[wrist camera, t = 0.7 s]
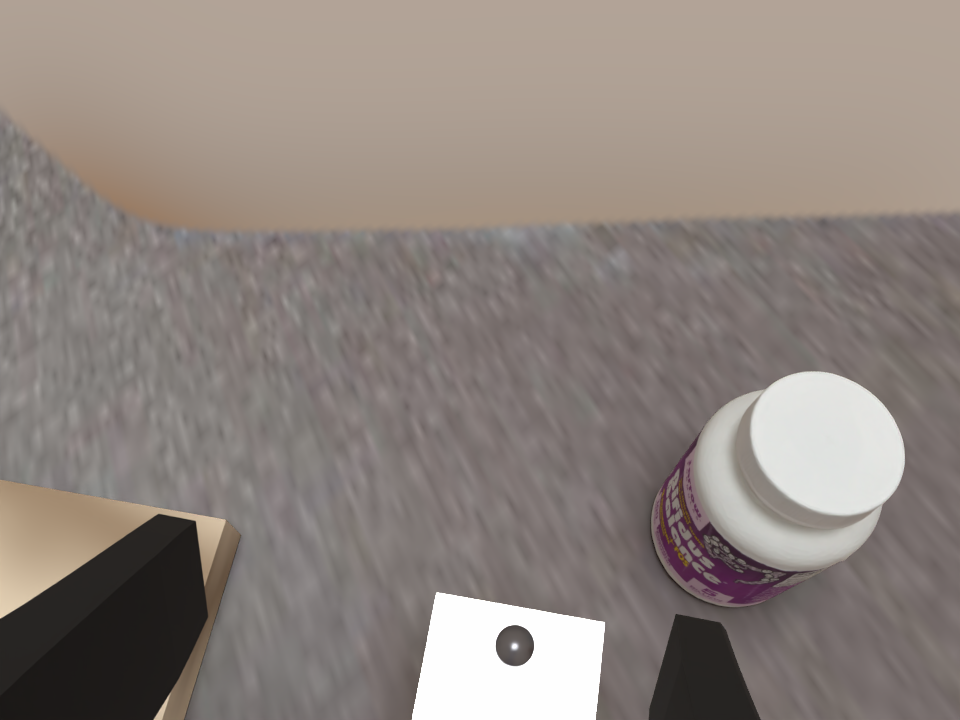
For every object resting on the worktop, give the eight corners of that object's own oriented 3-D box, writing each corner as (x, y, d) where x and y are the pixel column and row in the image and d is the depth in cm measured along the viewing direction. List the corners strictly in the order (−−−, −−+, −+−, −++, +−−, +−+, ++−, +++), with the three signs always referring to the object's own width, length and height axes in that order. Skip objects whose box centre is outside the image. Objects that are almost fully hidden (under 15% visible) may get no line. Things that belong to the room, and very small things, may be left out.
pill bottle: (616, 516, 30) (678, 412, 21) (724, 438, 31) (823, 311, 22) (717, 643, 28) (830, 586, 19) (827, 554, 29) (979, 463, 20)
